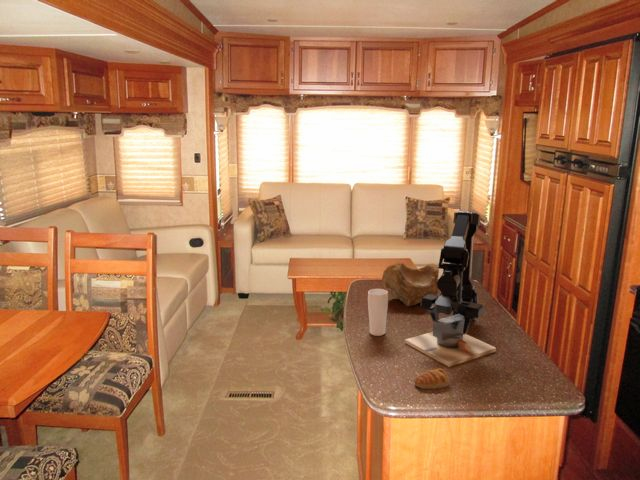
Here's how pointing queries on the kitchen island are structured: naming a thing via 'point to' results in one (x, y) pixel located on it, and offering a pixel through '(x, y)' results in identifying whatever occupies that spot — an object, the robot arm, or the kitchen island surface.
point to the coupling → (450, 331)
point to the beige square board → (450, 349)
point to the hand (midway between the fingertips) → (450, 331)
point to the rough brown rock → (411, 282)
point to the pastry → (432, 379)
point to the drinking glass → (377, 311)
